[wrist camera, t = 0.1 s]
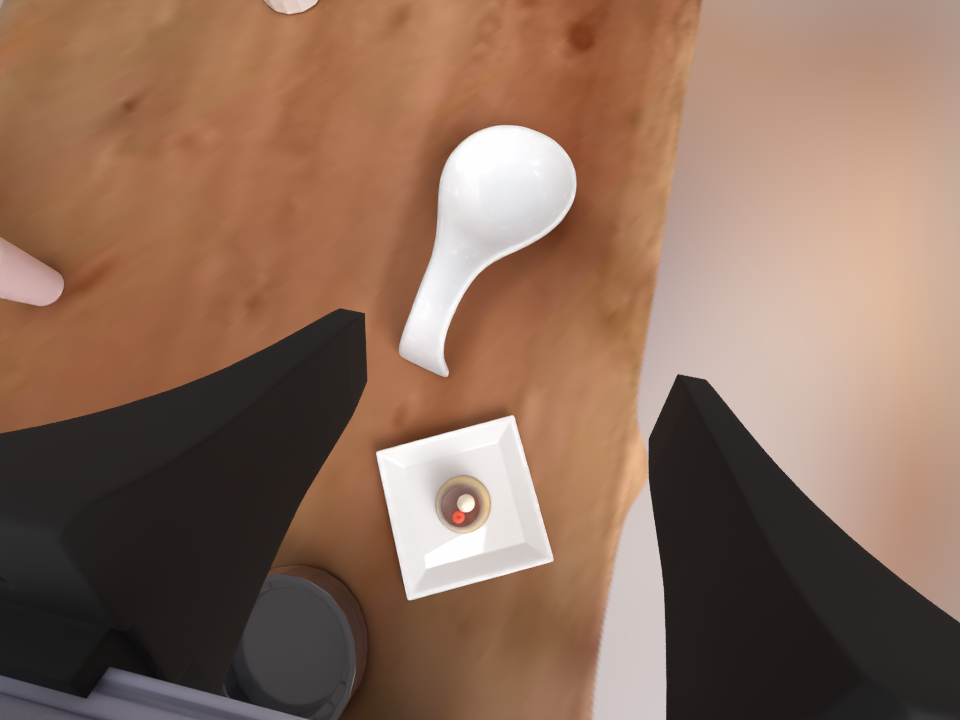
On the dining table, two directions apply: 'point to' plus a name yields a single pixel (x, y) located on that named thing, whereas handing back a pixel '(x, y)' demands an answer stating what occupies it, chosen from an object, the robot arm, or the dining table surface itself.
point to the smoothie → (27, 277)
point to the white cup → (290, 5)
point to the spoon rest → (485, 223)
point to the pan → (300, 646)
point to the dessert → (462, 507)
